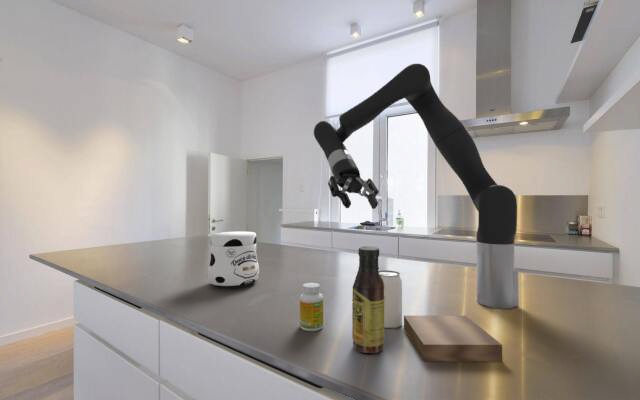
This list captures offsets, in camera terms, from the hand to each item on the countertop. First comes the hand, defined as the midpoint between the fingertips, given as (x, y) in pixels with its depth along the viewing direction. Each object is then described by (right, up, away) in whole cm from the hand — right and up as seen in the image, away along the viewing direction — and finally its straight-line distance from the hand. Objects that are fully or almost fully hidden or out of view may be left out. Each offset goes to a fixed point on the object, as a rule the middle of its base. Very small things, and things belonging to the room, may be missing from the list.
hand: (362, 206), depth 82 cm
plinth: (+14, -27, -21) cm, 37 cm away
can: (+5, -28, -10) cm, 30 cm away
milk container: (-42, -28, +24) cm, 56 cm away
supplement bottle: (-13, -28, -12) cm, 33 cm away
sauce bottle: (-2, -28, -22) cm, 36 cm away
